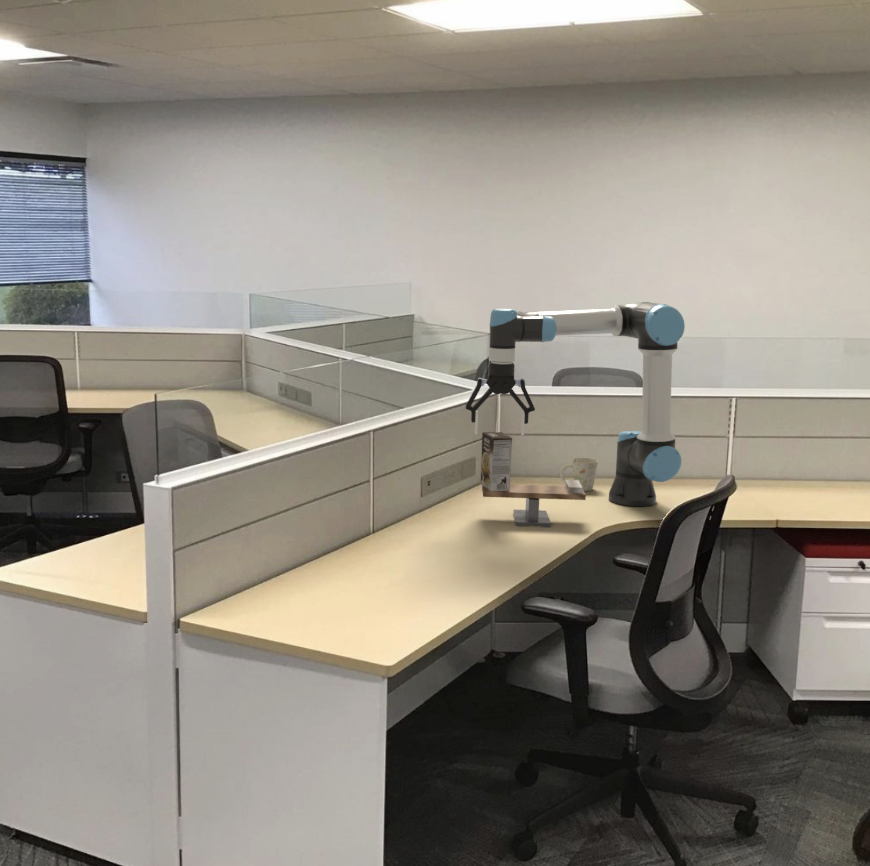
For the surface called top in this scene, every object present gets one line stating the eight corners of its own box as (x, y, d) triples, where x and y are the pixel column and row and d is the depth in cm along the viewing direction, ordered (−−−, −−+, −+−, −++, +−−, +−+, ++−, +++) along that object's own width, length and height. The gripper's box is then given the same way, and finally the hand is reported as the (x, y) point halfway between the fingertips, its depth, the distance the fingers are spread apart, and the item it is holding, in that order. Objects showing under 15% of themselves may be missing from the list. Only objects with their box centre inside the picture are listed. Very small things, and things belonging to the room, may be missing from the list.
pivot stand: (545, 514, 307) (547, 490, 306) (550, 527, 294) (551, 502, 292) (513, 513, 307) (514, 489, 306) (516, 526, 294) (517, 500, 292)
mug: (597, 492, 337) (599, 463, 335) (560, 491, 337) (561, 462, 335) (594, 486, 345) (596, 458, 343) (557, 485, 345) (559, 456, 343)
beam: (580, 491, 304) (581, 480, 303) (585, 500, 294) (586, 488, 293) (481, 488, 304) (482, 476, 303) (483, 496, 294) (483, 484, 294)
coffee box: (479, 484, 302) (481, 431, 299) (499, 483, 304) (501, 431, 301) (489, 491, 294) (492, 437, 291) (510, 490, 296) (512, 437, 293)
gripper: (543, 361, 295) (540, 432, 299) (458, 359, 295) (456, 430, 300) (545, 364, 288) (542, 437, 292) (459, 362, 288) (457, 435, 292)
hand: (499, 434), depth 296 cm, fingers open, 13 cm apart
